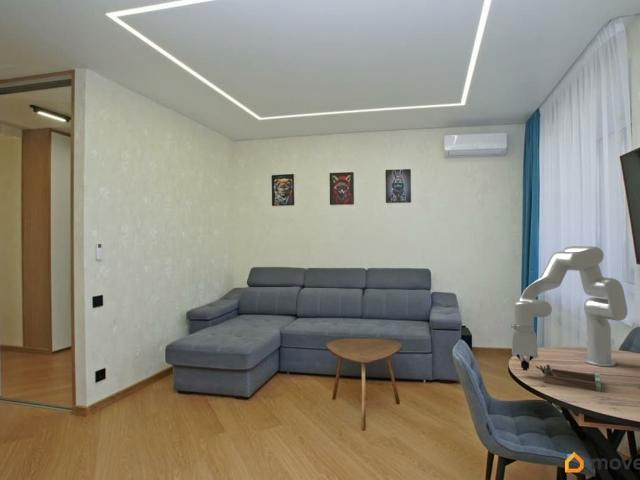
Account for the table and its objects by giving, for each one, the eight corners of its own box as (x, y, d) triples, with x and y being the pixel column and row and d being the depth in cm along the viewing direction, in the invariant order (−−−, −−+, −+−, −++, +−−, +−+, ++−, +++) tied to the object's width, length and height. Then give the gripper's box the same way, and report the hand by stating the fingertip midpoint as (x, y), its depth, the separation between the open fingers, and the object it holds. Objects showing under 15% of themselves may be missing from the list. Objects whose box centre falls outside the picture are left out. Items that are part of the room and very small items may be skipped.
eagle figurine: (531, 373, 174) (544, 376, 165) (537, 359, 176) (550, 361, 167) (547, 382, 174) (560, 385, 165) (553, 367, 175) (566, 370, 167)
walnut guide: (546, 374, 176) (545, 365, 176) (599, 382, 165) (599, 372, 165) (544, 382, 166) (544, 373, 166) (600, 391, 155) (600, 381, 155)
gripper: (504, 328, 176) (505, 369, 176) (542, 332, 168) (543, 375, 168) (507, 325, 182) (508, 364, 182) (544, 328, 174) (544, 370, 174)
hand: (525, 369), depth 175 cm, fingers closed
